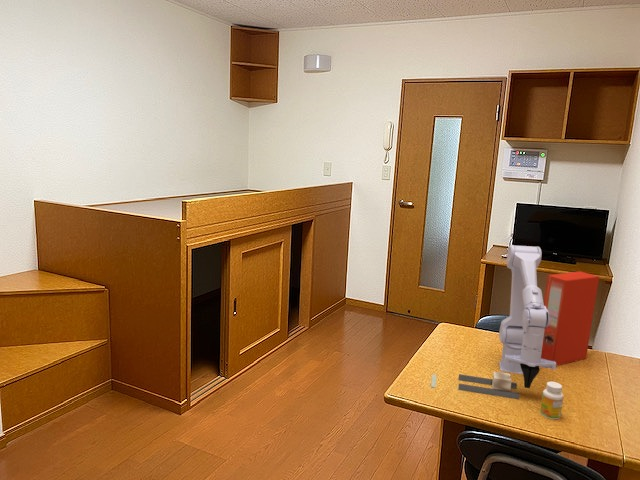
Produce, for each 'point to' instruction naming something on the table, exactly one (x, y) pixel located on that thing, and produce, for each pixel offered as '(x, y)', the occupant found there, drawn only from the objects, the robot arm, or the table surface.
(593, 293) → the file binder
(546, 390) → the supplement bottle
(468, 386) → the parallel grey rails
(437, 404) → the table surface
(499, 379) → the block
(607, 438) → the table surface
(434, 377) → the pad
